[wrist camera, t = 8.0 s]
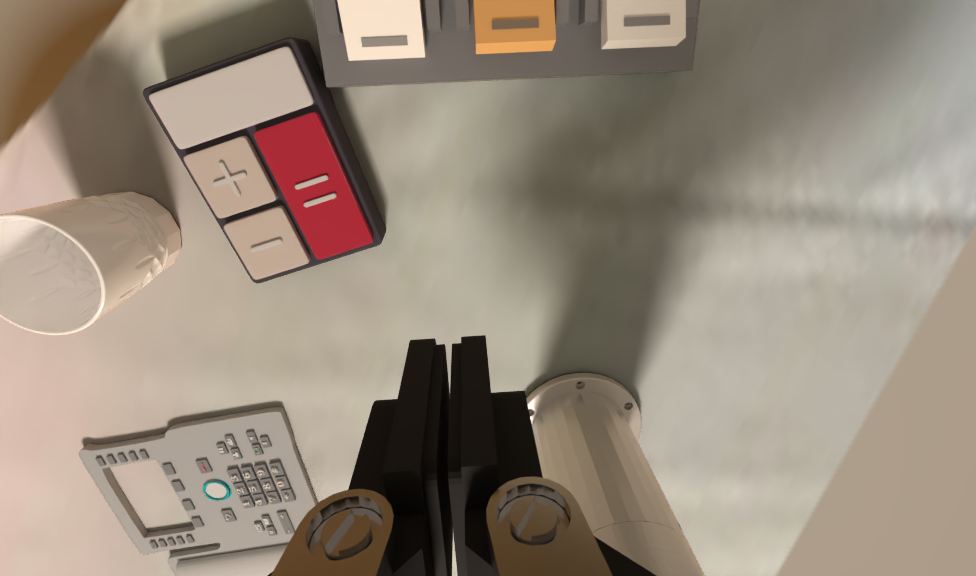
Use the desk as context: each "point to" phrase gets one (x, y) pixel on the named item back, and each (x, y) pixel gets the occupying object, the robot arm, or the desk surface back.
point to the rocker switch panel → (458, 61)
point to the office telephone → (216, 491)
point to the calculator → (270, 158)
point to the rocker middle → (514, 26)
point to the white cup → (81, 258)
